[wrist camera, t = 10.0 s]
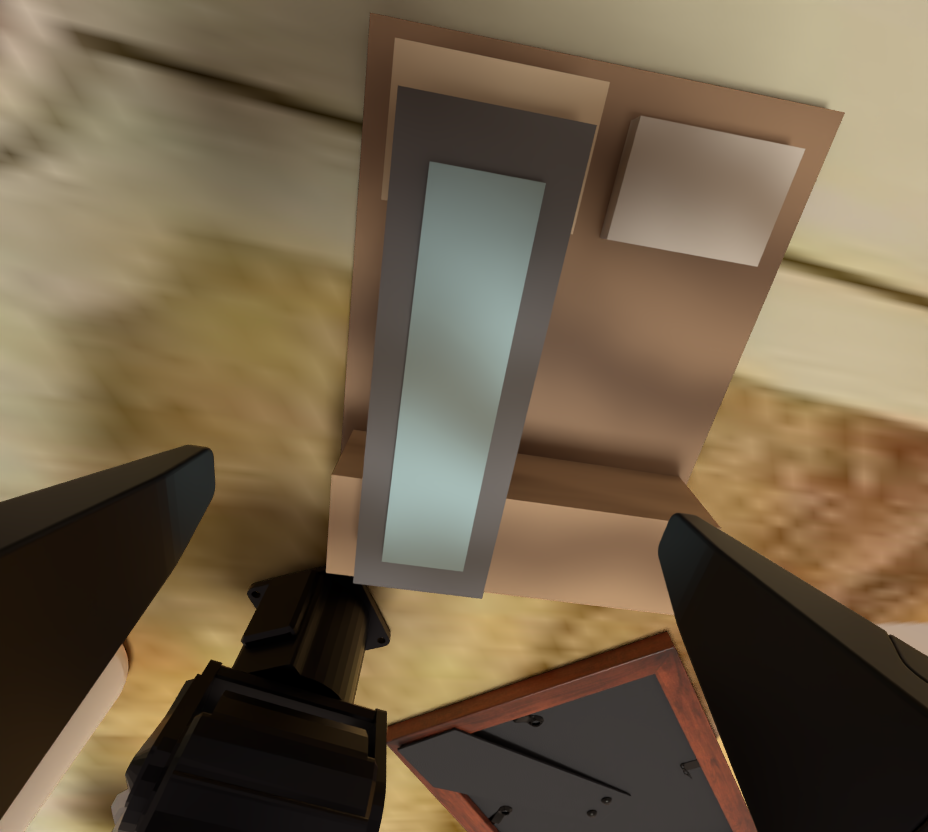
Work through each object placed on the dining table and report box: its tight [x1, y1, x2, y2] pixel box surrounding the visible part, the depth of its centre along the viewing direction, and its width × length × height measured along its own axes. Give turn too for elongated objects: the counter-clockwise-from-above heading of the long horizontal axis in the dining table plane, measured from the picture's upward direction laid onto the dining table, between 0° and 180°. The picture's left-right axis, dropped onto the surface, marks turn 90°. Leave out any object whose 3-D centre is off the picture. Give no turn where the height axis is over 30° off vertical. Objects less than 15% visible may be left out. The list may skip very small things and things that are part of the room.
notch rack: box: [326, 13, 845, 615], centre depth 19 cm, size 21×17×5 cm
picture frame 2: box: [387, 631, 757, 832], centre depth 35 cm, size 20×2×25 cm
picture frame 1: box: [353, 85, 597, 599], centre depth 15 cm, size 16×5×2 cm, turn 171°
